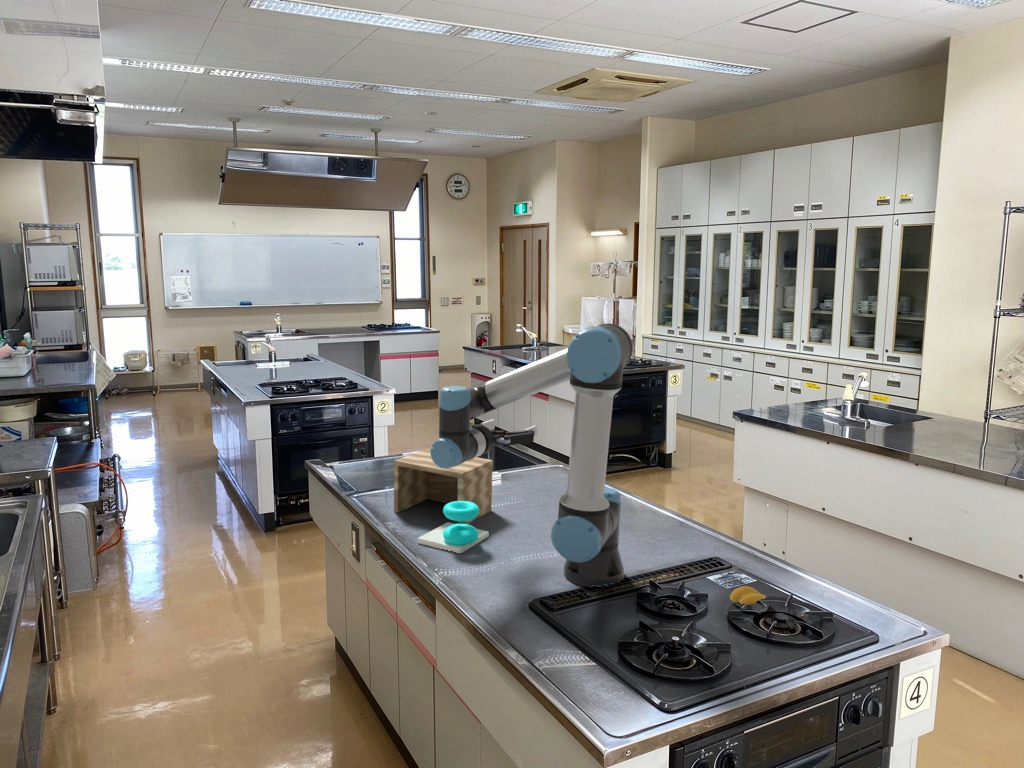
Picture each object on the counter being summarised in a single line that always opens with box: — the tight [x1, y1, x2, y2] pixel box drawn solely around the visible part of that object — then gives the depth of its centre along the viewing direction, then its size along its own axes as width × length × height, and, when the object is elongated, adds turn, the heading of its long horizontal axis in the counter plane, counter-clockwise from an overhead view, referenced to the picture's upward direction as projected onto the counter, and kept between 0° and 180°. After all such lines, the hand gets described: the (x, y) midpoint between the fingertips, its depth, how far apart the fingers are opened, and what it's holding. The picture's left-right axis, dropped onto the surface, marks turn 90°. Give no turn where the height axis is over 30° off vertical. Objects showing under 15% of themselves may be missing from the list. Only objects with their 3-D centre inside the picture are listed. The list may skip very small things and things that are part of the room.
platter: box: [417, 522, 490, 554], centre depth 209 cm, size 15×14×2 cm
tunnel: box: [393, 448, 494, 525], centre depth 231 cm, size 18×25×16 cm
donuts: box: [442, 501, 479, 545], centre depth 205 cm, size 10×10×10 cm
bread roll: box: [729, 585, 767, 605], centre depth 174 cm, size 8×9×4 cm
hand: (514, 427), depth 209 cm, fingers open, 13 cm apart
